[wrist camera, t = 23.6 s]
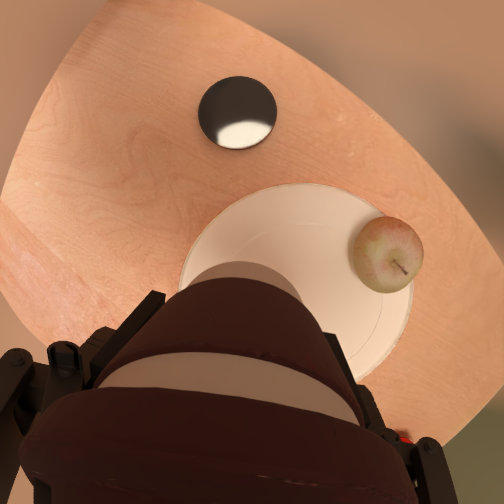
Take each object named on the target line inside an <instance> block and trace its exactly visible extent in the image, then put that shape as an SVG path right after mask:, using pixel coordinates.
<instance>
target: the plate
mask: <svg viewBox="0 0 504 504" xmlns="http://www.w3.org/2000/svg"><path fill="white" fill-rule="evenodd" d="M378 217H386V216H385V215H384V214H383V213H382V212H381V211H380V210H378V209H377V208H376V207H375V206H374V205H372V204H371V203H369V202H368V201H366V200H365V199H363V198H361V197H359V196H358V195H356V194H353V193H351V192H349V191H346V190H343V189H340V188H337V187H333V186H329V185H324V184H317V183H290V184H283V185H277V186H273V187H269V188H265V189H262V190H259V191H257V192H254V193H252V194H250V195H247V196H245V197H243V198H241V199H240V200H238V201H236V202H234V203H233V204H231V205H230V206H228V207H227V208H226V209H224V210H223V211H222V212H221V213H219V214H218V215H217V216H216V217H215V218H214V219H213V220H212V221H211V222H210V223H209V224H208V225H207V226H206V227H205V228H204V229H203V231H202V232H201V233H200V235H199V236H198V237H197V239H196V240H195V242H194V244H193V245H192V247H191V249H190V251H189V253H188V255H187V257H186V260H185V262H184V265H183V268H182V271H181V275H180V280H179V287H178V292H180V291H181V290H183V289H185V288H186V287H187V286H188V285H189V284H190V283H191V281H192V280H193V279H194V278H196V277H197V276H198V275H199V274H200V273H202V272H203V271H205V270H207V269H208V268H211V267H213V266H216V265H219V264H222V263H226V262H234V261H246V262H253V263H258V264H262V265H264V266H267V267H269V268H271V269H273V270H275V271H276V272H278V273H280V274H281V275H283V276H284V277H285V278H286V279H287V280H288V281H289V282H290V283H291V284H292V285H293V286H294V287H295V289H296V290H297V292H298V294H299V295H300V297H301V300H302V302H303V304H304V306H305V307H306V308H307V309H308V310H309V311H310V312H311V313H312V315H313V316H314V318H315V319H316V321H317V322H318V324H319V326H320V328H321V330H322V332H328V333H333V334H336V336H337V339H338V341H339V343H340V346H341V348H342V350H343V353H344V355H345V358H346V360H347V363H348V365H349V367H350V370H351V372H352V375H353V377H354V380H355V382H356V383H357V382H358V381H360V380H361V379H363V378H364V377H366V376H367V375H368V374H370V373H371V372H372V371H373V370H374V369H376V368H377V367H378V366H379V365H380V364H381V363H382V362H383V361H384V359H385V358H386V357H387V356H388V355H389V354H390V352H391V351H392V350H393V348H394V347H395V345H396V344H397V342H398V340H399V339H400V337H401V335H402V333H403V331H404V329H405V326H406V324H407V321H408V318H409V315H410V311H411V307H412V301H413V292H414V279H413V280H412V281H411V282H410V283H409V284H408V285H407V286H406V287H405V288H403V289H401V290H400V291H397V292H394V293H388V294H385V293H378V292H375V291H373V290H371V289H370V288H368V287H367V286H366V285H364V284H363V283H362V282H361V280H360V279H359V277H358V275H357V273H356V270H355V267H354V262H353V248H354V243H355V241H356V238H357V236H358V234H359V233H360V231H361V230H362V228H363V227H364V226H365V225H366V224H367V223H368V222H370V221H371V220H373V219H375V218H378Z"/></svg>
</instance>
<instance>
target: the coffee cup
mask: <svg viewBox="0 0 504 504" xmlns="http://www.w3.org/2000/svg"><path fill="white" fill-rule="evenodd" d="M18 454H19V459H20V464H21V467H22V469H23V470H24V472H25V474H26V476H27V478H28V479H29V481H30V482H31V484H32V485H33V486H34V477H36V478H38V479H39V480H41V481H42V482H44V483H45V484H47V485H49V486H50V487H51V503H52V504H418V498H417V495H416V492H415V490H414V487H413V485H412V482H411V479H410V477H409V474H408V472H407V469H406V467H405V464H404V462H403V459H402V458H401V456H400V455H399V453H398V452H397V451H396V449H395V448H394V447H393V446H392V445H391V444H390V443H389V442H387V441H386V440H384V439H383V438H381V437H380V436H378V435H377V434H375V433H374V432H373V431H370V430H368V429H366V428H365V423H364V418H363V414H362V411H361V408H360V406H359V404H358V401H357V399H356V397H355V395H354V393H353V391H352V389H351V387H350V385H349V383H348V381H347V379H346V377H345V375H344V373H343V371H342V369H341V367H340V365H339V363H338V361H337V359H336V357H335V355H334V353H333V351H332V349H331V347H330V345H329V343H328V341H327V339H326V337H325V335H324V333H323V332H322V330H321V328H320V326H319V324H318V322H317V321H316V319H315V318H314V316H313V315H312V313H311V312H310V311H309V310H308V309H307V308H306V307H305V306H304V304H303V302H302V300H301V297H300V295H299V294H298V292H297V290H296V289H295V287H294V286H293V285H292V284H291V283H290V282H289V281H288V280H287V279H286V278H285V277H284V276H283V275H281V274H280V273H278V272H276V271H275V270H273V269H271V268H269V267H267V266H264V265H262V264H258V263H253V262H246V261H234V262H226V263H222V264H219V265H216V266H213V267H211V268H208V269H207V270H205V271H203V272H202V273H200V274H199V275H198V276H197V277H196V278H194V279H193V280H192V281H191V283H190V284H189V285H188V286H187V287H186V288H185V289H183V290H181V291H180V292H178V293H176V294H175V295H174V296H172V297H171V298H170V299H169V300H168V301H167V302H166V303H165V304H164V305H163V306H162V307H161V308H160V309H159V310H158V311H157V312H156V313H155V314H154V315H153V316H152V317H151V318H150V320H149V321H148V322H147V323H146V324H145V325H144V326H143V327H142V328H141V329H140V330H139V331H138V332H137V333H136V334H135V335H134V336H133V337H132V339H131V340H130V341H129V342H128V343H127V344H126V345H125V346H124V347H123V348H122V349H121V350H120V351H119V352H118V354H117V355H116V356H115V357H114V358H113V359H112V360H111V361H110V362H109V363H108V365H107V366H106V367H105V368H104V369H103V370H102V372H101V373H100V375H99V376H98V378H97V379H96V381H95V383H94V386H93V388H92V389H89V390H84V391H79V392H74V393H71V394H69V395H66V396H64V397H62V398H60V399H58V400H56V401H54V402H53V403H52V404H51V405H50V406H49V407H48V408H47V409H46V410H45V412H44V413H43V414H42V415H41V417H40V418H39V419H38V421H37V422H36V423H35V424H34V426H33V427H32V428H31V430H30V431H29V432H28V434H27V435H26V436H25V438H24V439H23V441H22V442H21V444H20V448H19V452H18Z"/></svg>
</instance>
